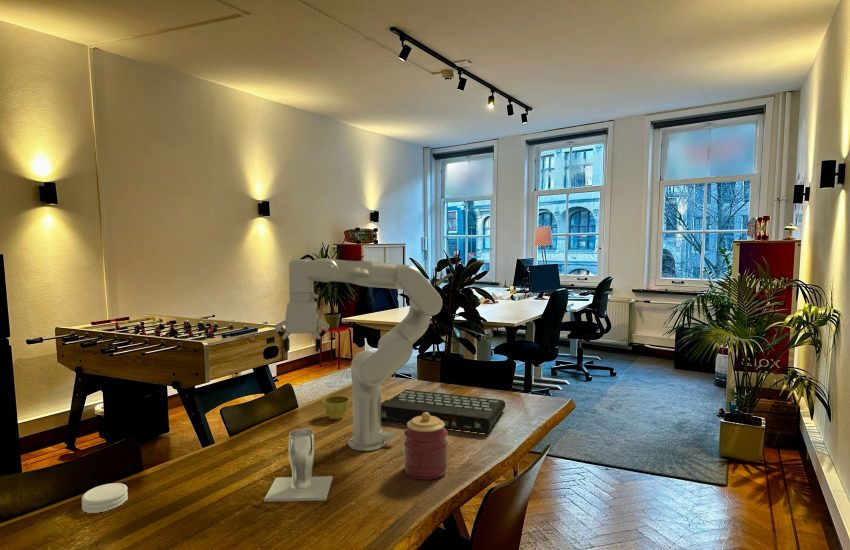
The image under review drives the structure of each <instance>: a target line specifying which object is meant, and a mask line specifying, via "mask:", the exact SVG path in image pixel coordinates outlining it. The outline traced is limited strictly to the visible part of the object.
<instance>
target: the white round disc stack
mask: <svg viewBox="0 0 850 550" xmlns="http://www.w3.org/2000/svg"><path fill="white" fill-rule="evenodd" d="M128 495H129V492H128V486H127V485H126V484H124V483H120V482H113V483H112V482H111V483H106V484H105V483H104V484H101V485H98V486H95V487H93V488H91V489H88V490H87V491H86V492H84V494H83V495H82V497H81V510H82V512H84V513H85V512H87V513H86V514H90V513H97V514H100V513H99V512H103V513H106V512H105V511H107V512H109V511H108V510H111V509H113V508H116V507H118V506H120V505H122V504H123V503H124V502H125V501H126V500H127V501H128V500H129V496H128ZM127 501H126V502H127ZM126 502H125V503H126ZM125 503H124V504H125ZM124 504H123V505H124ZM123 505H122V506H123ZM120 507H121V506H120ZM118 508H119V507H118ZM116 509H117V508H116ZM113 510H114V509H113ZM111 511H112V510H111Z"/></svg>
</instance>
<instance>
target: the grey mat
mask: <svg viewBox="0 0 850 550" xmlns="http://www.w3.org/2000/svg"><path fill="white" fill-rule="evenodd" d="M312 478H313V484H314V485H313V487H312V488H311V489H310V490H307V491H303V492H296V491H293V490H292V489H291V482H292V476H283V477H278V476H277V477H275V479H274V480H273V483H272V484H271V486H270V488H269V489H268V491H267V493H266V495H265V497H264V498H263V500H264V501H263V502H264V503H267V502H268V503H269V502H305V501H306V502H310V501H327V498H328V495H329V492H330V488H331V485H332V482H333V476H332V475H329V476H322V475H321V476H312Z"/></svg>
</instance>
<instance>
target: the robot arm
mask: <svg viewBox="0 0 850 550" xmlns="http://www.w3.org/2000/svg"><path fill="white" fill-rule="evenodd" d="M288 279H289V280H288V281H289V284H288V286H289V290H288V291H289V296H288V297H289V301H288V302H287V303H286V304H287V305H286V310H285V320H283V321H282V320H281V322H279V323H277V324H275V325H273V326H274V329H275V332H277V335H278V336H280V338H281V339H282V340H283V344H282V345H283V347H282V348H283V349H284V353H287V352H288V351H290V347H291V346H290V335H291V334H293V335H295V334H297V335H298V334H300V335H301V334H302V335H303V334H305V335H306V334H313V335H314V336H315V338H316V339H315V352H317V353H318V352H319V351H320V349H322V337H323V336H325V334H327V332H328V330H329V328H330V324H329V323H327V322H325V321H323V320H321V319H320V318H319V317H320V316H319V309H318V308H319V307H318V304H317V301H315V300H316V299H319V294H317V293H315V291H314V288H315V287H314V282H322V283H329V282H339V283H340V282H341V283H349V284H354V285H358V286H361V287H367V288H382V289H384V288H385V289H393V290H394V289H395V290H401V291H403V292H404V293H405V295H406V296H407V297H408V298H409V310H408V313H407V315H406V316H405V317H404V318H403V319H402V320H401V321H400V322H398V323H397V325H395V326H394V327H393V328H391V329H390V330H389V331H387V332H386V333H385V334H383V335H382V336H381V338H380V339H379V340H378V343H377V348H378V350H376V351H374V352H373V351H371V350H361V351H359V352H357V353H356V354H355V355H354V356H353V358H352V359H351V363H350V373H351V385H352V437H350V438H349V439H348V442H347V443H348V447H349V448H350V449H352V450H355V451H359V452H360V451H361V452H371V451H377V450H379V449H381V448H384V446H385V445H386V442H387V441H386V440H395V433H392V431H385V430H383V427H382V421H381V403H382V386H381V385H382V384H383V383H384V382H386V381H387V380H388V379H390V378H391V377H392V376H393V375H394V374H395V373H396V372H398V371H399V370H400V369H401V368H402V367H404V366H405V365H406V364H407V363H408V362H409V360H410V359H411V357H412V355H413V351H414V348H413V345H414V344H415V343H416V342H417V341H418V340H419V339H420V338H422V337H423V335H424V334H425V333H426V331H427V330H428V328H429V326H430V322H431V318H432V316H435V315H437V314H439V313H440V312H441V310H442V307H443V299H442V298H443V297H441V294H440V292H438V291H437V289H435V288H434V286H433V284H431V283H430V281H428V279H427V278H426V277H425V276H424V275H423V274H422V272H421V271H420V270H419V269H418V268H416V267H415V266H413V265H410V264H400V263H392V262H391V263H390V262H380V261H373V260H371V261H369V260H343V259H342V260H341V259H336V258H335V259H333V258H326V257H325V258H322V257H321V258H318V259H315V260H312V259H308V258H307V259H305V258H304V259H303V258H302V259H301V258H299V259H291V260H290V261H289V263H288ZM283 326H285V327H284V328H285V329H284V331H285V332H284V331H283V330H282V329H281V327H283ZM320 326H321V327H323V330H322V331H321V332H320V331H319V329H320Z"/></svg>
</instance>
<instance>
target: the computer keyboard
mask: <svg viewBox="0 0 850 550" xmlns="http://www.w3.org/2000/svg"><path fill="white" fill-rule="evenodd" d="M505 408H506V402H505V400H503V399H499V398H498V399H497V398H490V397H489V398H488V397H487V398H486V397H478V396H472V395H471V396H470V395H460V394H459V395H458V394H452V393H451V394H450V393H441V392H431V391H422V390H415V389H414V390H412V389H404V390H403V391H402V392H400V393H398V394H396V395H395V396H394V397H392V398H390V399H385V400H384V401H381V422H383V421H388V422H387V423H391V422H395V423H394V424H398V423H402V424H401V425H406V424H407V423H408V422H409V421H410V420H412V419H413V418H414V417H417V416H422V414H423V413H424V412H428V413H429V414H430V416H435V417H437V418H439V419H440V420H442V421H443V422H444V423H445V426H444V428H446V429H453V430H461V431H470V432H477V433H485V434H487V435H488V434H489V433H490V431H491V429H492V428H493V427H492V426H494V425H495V424H496V423H497V421H498V419H499V418H500V416H501V415H500V414H502V413H503V412H502V411H504V409H505ZM501 412H502V413H501ZM499 415H500V416H499ZM498 417H499V418H498ZM497 418H498V419H497ZM496 420H497V421H496ZM494 423H495V424H494Z"/></svg>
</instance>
